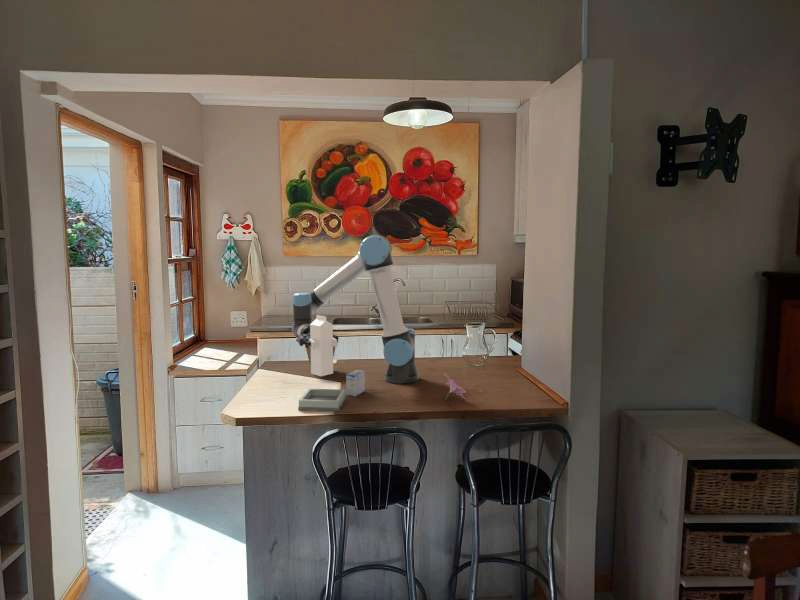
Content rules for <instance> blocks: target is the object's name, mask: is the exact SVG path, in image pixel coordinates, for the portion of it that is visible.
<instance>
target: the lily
mask: <svg viewBox="0 0 800 600" xmlns="http://www.w3.org/2000/svg"><path fill="white" fill-rule="evenodd" d="M443 375H444V376H445V377H446V379H447V381H448V382H445V385H446V386H448V387H449V392H448V393H447V396H446V398H445V400H447V399H448V396H449V395H450V394H451V393H455V394H456V395H457V394H458V395H459V396H460V397H462V399H463V398H464V399H465V400H466V398H465V396H464V395H463V394H465V393H467V392H466V390H465V389H464V388H463V387H461V386H460V385H459V384H457V383H456V382H455V380H454V379H451V378H450V376H448V375H447V374H446V373H443ZM458 395H457V396H458ZM464 399H463V400H464Z"/></svg>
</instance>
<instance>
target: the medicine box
mask: <svg viewBox="0 0 800 600" xmlns="http://www.w3.org/2000/svg"><path fill="white" fill-rule="evenodd" d="M345 378H346V379H345V382H346V383H345V386H346V388H345V396H350V395H351V396H350V397H357V396H358V395H361V394H362V393H363V392H365V391H366V371H365V370H359V369H355V370H353V371H350V372H348V373H346V374H345Z"/></svg>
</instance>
